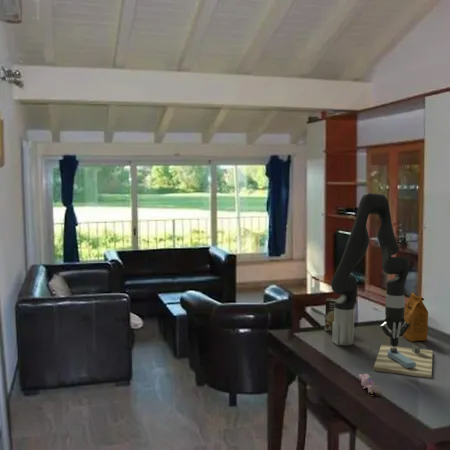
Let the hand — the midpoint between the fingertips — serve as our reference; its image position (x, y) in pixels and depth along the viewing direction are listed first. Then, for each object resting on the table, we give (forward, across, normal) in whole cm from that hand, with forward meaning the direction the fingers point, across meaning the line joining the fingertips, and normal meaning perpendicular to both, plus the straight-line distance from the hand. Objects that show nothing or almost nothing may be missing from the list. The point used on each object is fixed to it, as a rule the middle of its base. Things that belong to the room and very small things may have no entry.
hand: (394, 346), depth 224 cm
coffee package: (+10, -32, -35) cm, 48 cm away
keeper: (+8, -19, -12) cm, 24 cm away
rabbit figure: (+10, +20, +16) cm, 27 cm away
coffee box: (+9, +1, -56) cm, 57 cm away
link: (+8, -5, -4) cm, 10 cm away
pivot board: (+10, -9, -7) cm, 15 cm away
